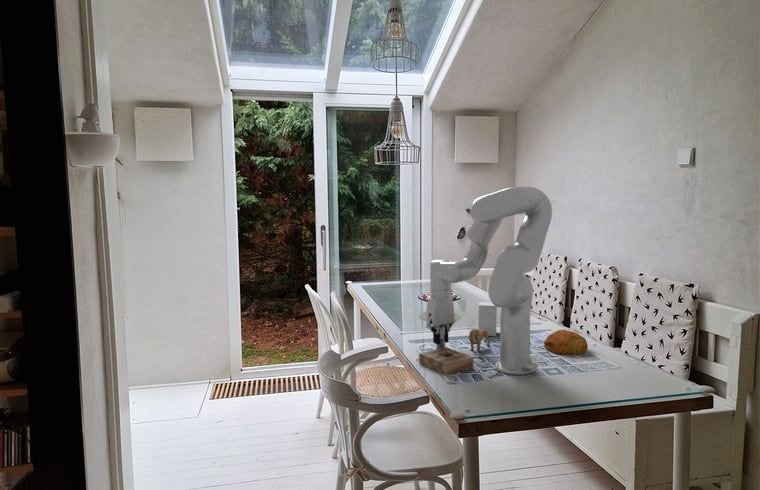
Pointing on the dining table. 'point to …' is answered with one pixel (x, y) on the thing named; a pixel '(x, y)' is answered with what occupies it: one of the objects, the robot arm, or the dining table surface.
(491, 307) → the supplement box
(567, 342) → the croissant
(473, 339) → the lion figurine
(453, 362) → the block
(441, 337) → the key peg
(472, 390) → the dining table surface
